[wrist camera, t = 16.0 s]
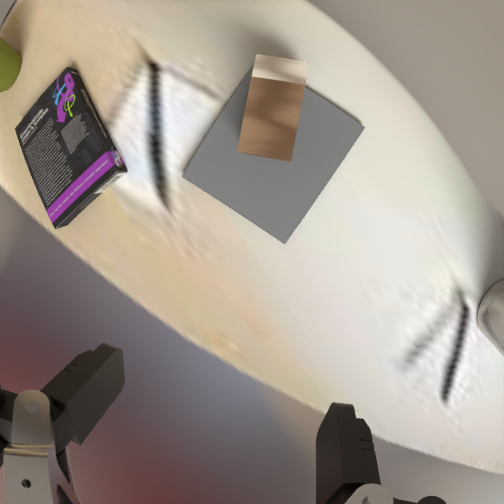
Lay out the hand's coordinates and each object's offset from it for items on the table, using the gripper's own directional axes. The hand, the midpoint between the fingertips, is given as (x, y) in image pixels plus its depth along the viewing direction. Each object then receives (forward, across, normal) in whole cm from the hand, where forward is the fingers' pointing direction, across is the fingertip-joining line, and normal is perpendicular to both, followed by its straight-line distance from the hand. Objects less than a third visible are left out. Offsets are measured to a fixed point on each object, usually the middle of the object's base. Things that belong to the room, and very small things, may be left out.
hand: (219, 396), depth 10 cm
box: (+26, +31, -8) cm, 41 cm away
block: (+22, +2, -9) cm, 24 cm away
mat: (+26, +2, -10) cm, 28 cm away
